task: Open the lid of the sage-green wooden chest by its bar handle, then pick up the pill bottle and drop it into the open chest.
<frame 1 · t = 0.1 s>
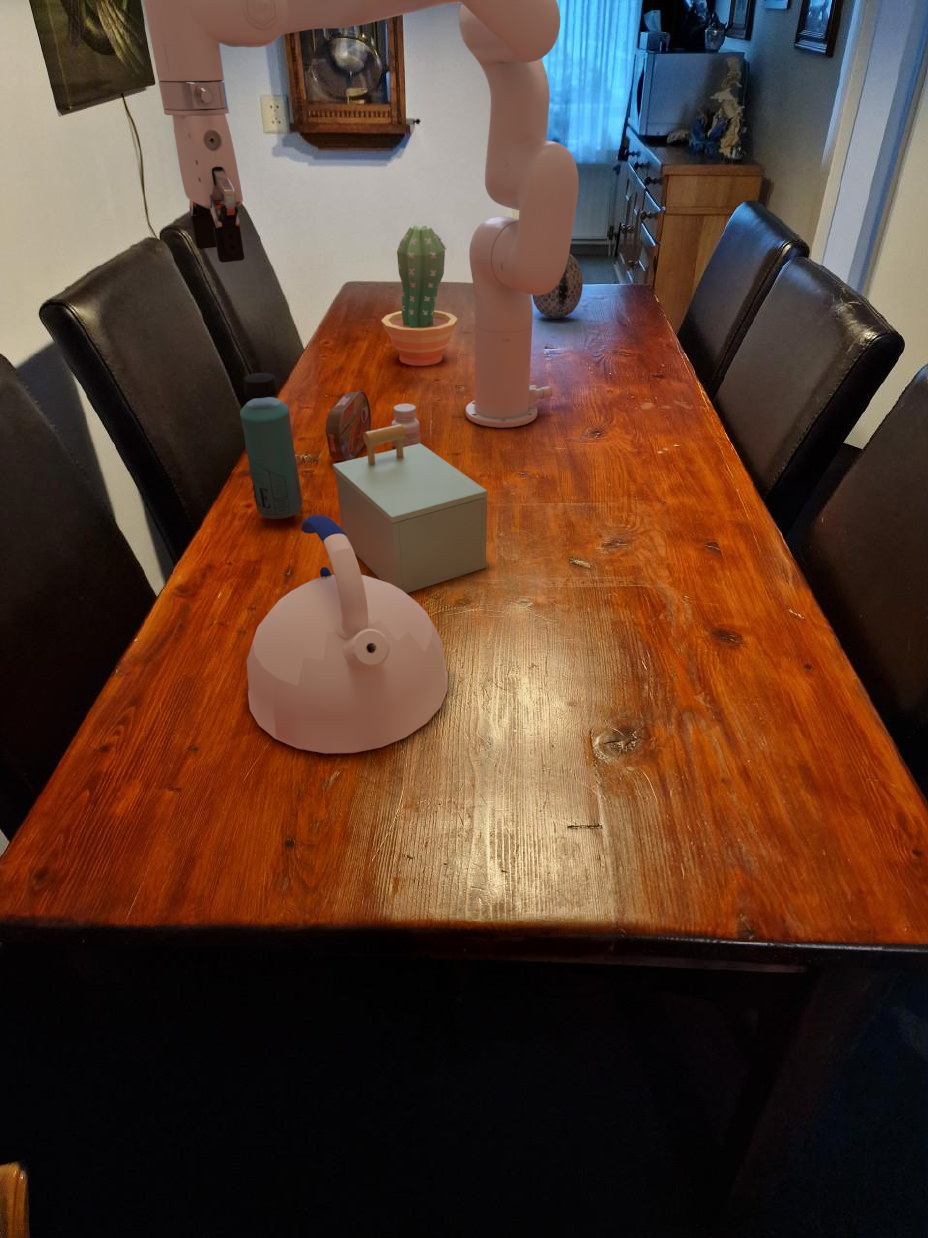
hand: (220, 253, 107), 31 cm above the table, tool pointing down, fingers open, 9 cm apart
potted cactus: (420, 359, 170), on the table
chest: (412, 553, 105), on the table
beverage bottle: (281, 519, 113), on the table
kettle: (349, 688, 83), on the table
tin: (351, 451, 132), on the table
decorative egg: (555, 318, 194), on the table
lid: (406, 463, 98), point 12 cm above the table, hinge at 0.0°
pill bottle: (406, 455, 131), on the table
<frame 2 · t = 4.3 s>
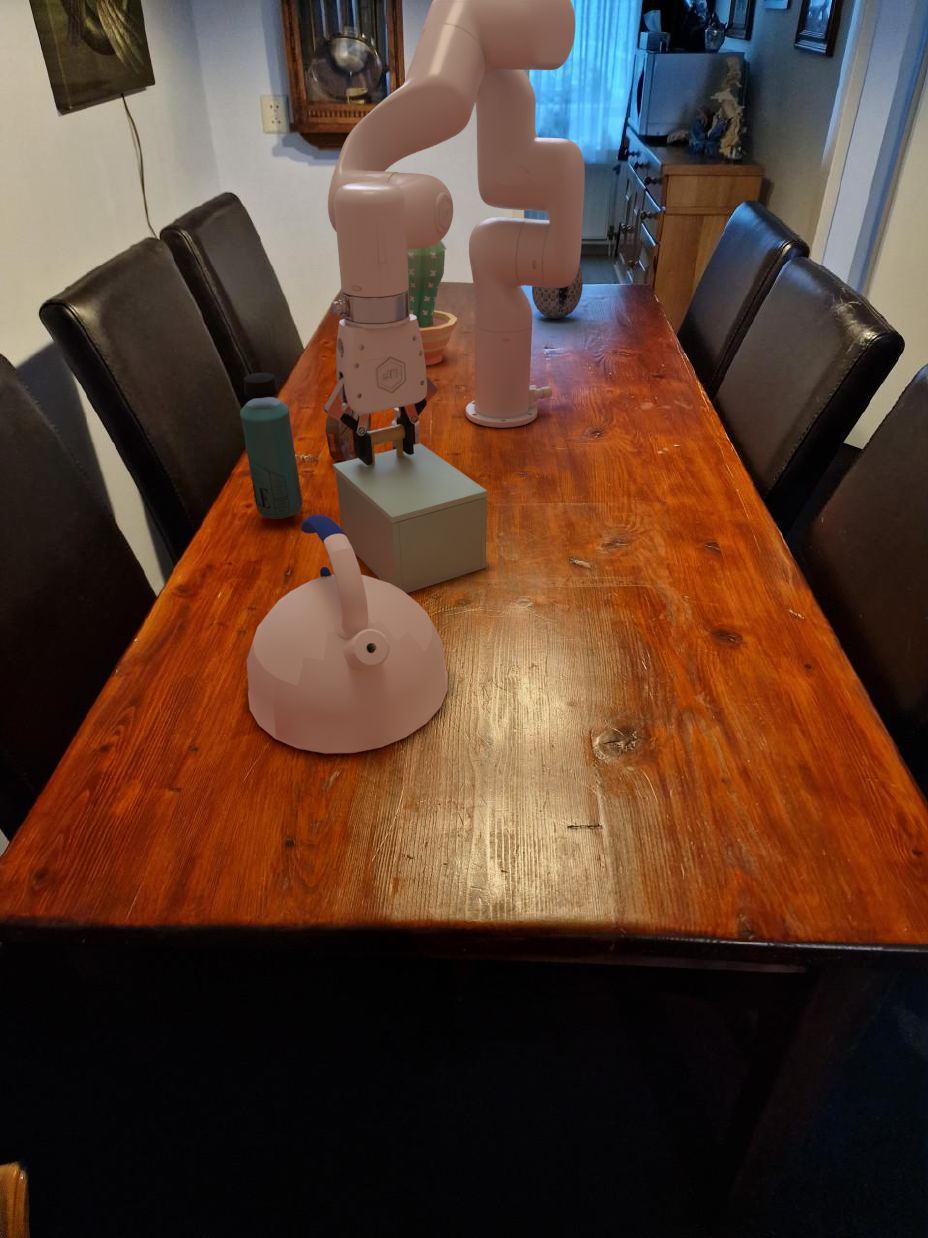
hand: (385, 454, 103), 11 cm above the table, tool pointing down, fingers closed on lid, 5 cm apart
lid: (406, 463, 98), point 12 cm above the table, hinge at 0.0°, touching gripper
everything else where it was.
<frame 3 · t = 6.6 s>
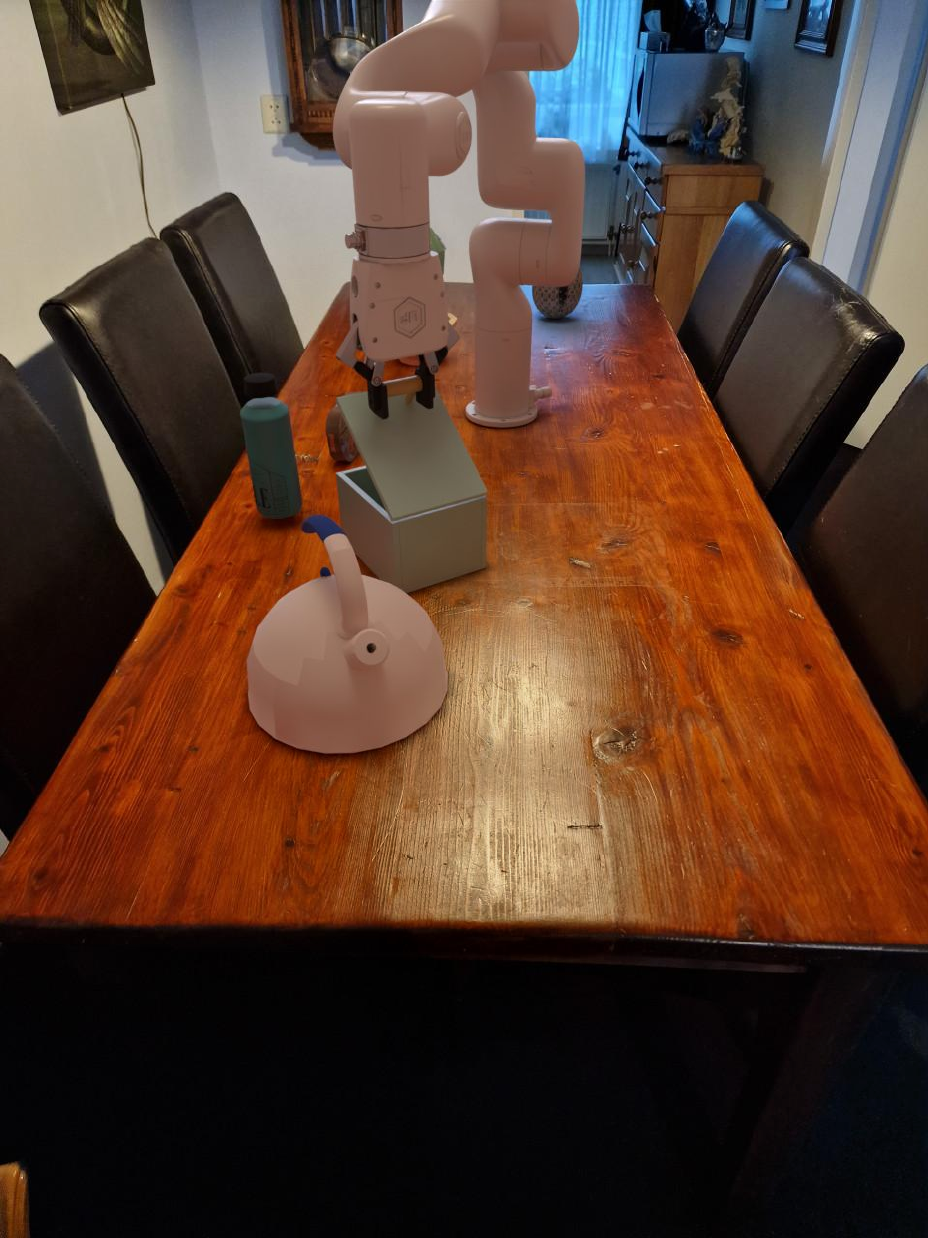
hand: (402, 408, 94), 19 cm above the table, tool pointing down, fingers closed on lid, 5 cm apart
lid: (416, 436, 93), point 17 cm above the table, hinge at 36.6°, touching gripper
everything else where it was.
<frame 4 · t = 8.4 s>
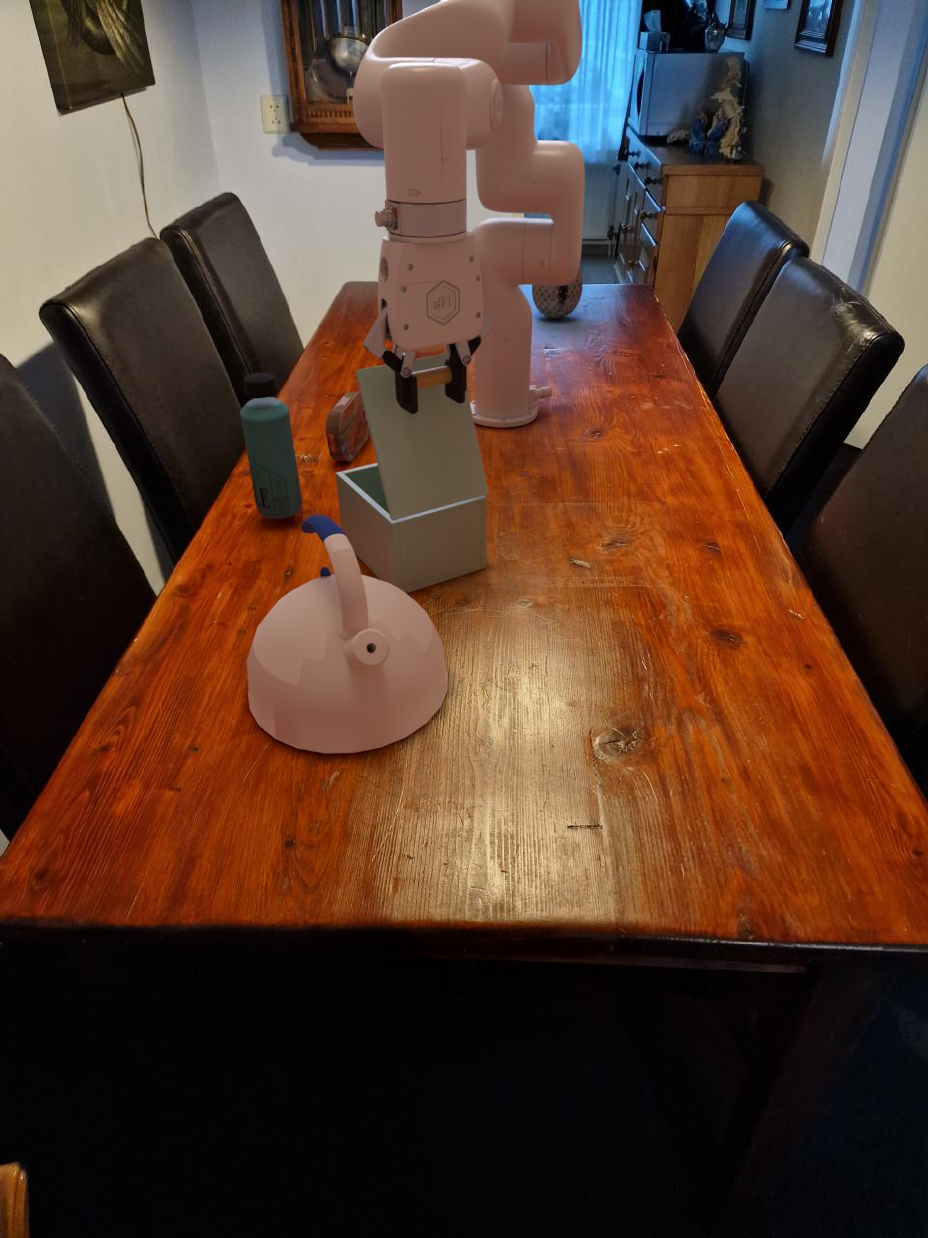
hand: (432, 402, 88), 22 cm above the table, tool pointing down, fingers closed on lid, 5 cm apart
lid: (433, 433, 90), point 19 cm above the table, hinge at 66.2°, touching gripper
everything else where it was.
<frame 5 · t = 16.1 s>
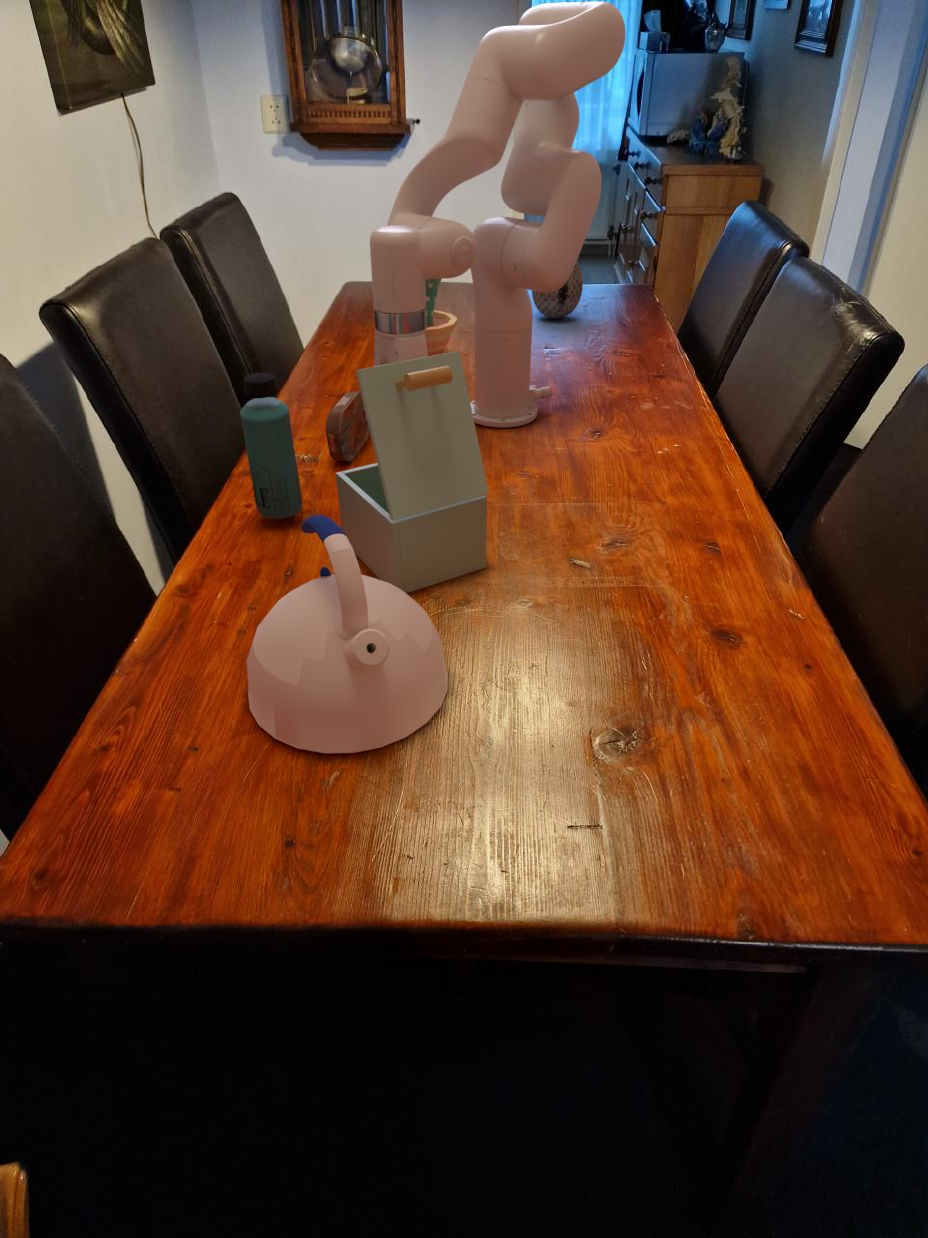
hand: (406, 437, 129), 3 cm above the table, tool pointing down, fingers closed on pill bottle, 4 cm apart
lid: (433, 433, 90), point 19 cm above the table, hinge at 66.6°
pill bottle: (406, 455, 131), on the table, touching gripper
everything else where it was.
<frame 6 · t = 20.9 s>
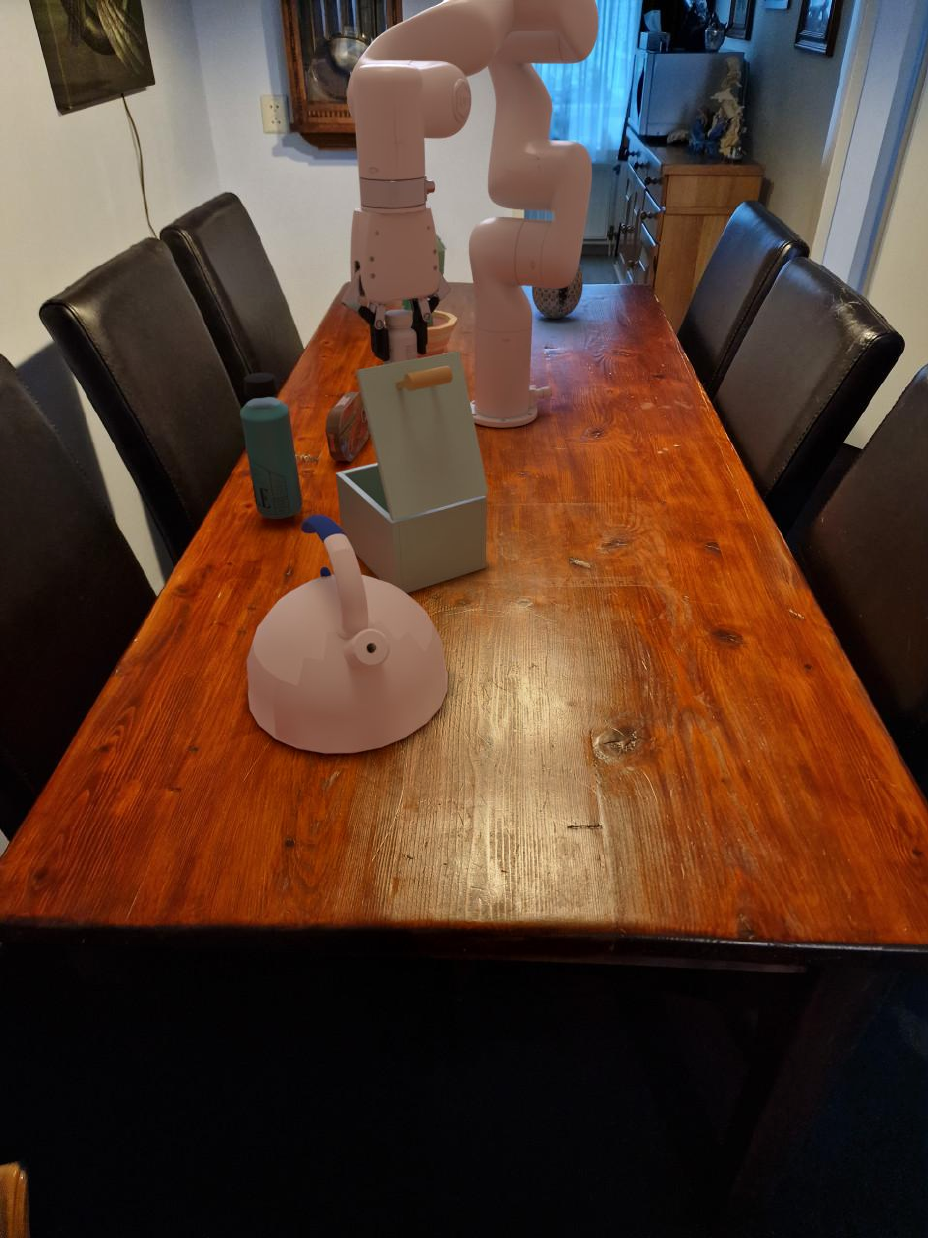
hand: (400, 353, 103), 22 cm above the table, tool pointing down, fingers closed on pill bottle, 4 cm apart
pill bottle: (400, 376, 105), point 19 cm above the table, touching gripper
everything else where it was.
when the fingers open (9 cm above the table, at t = 26.4 s): pill bottle stays where it is, resting on chest.
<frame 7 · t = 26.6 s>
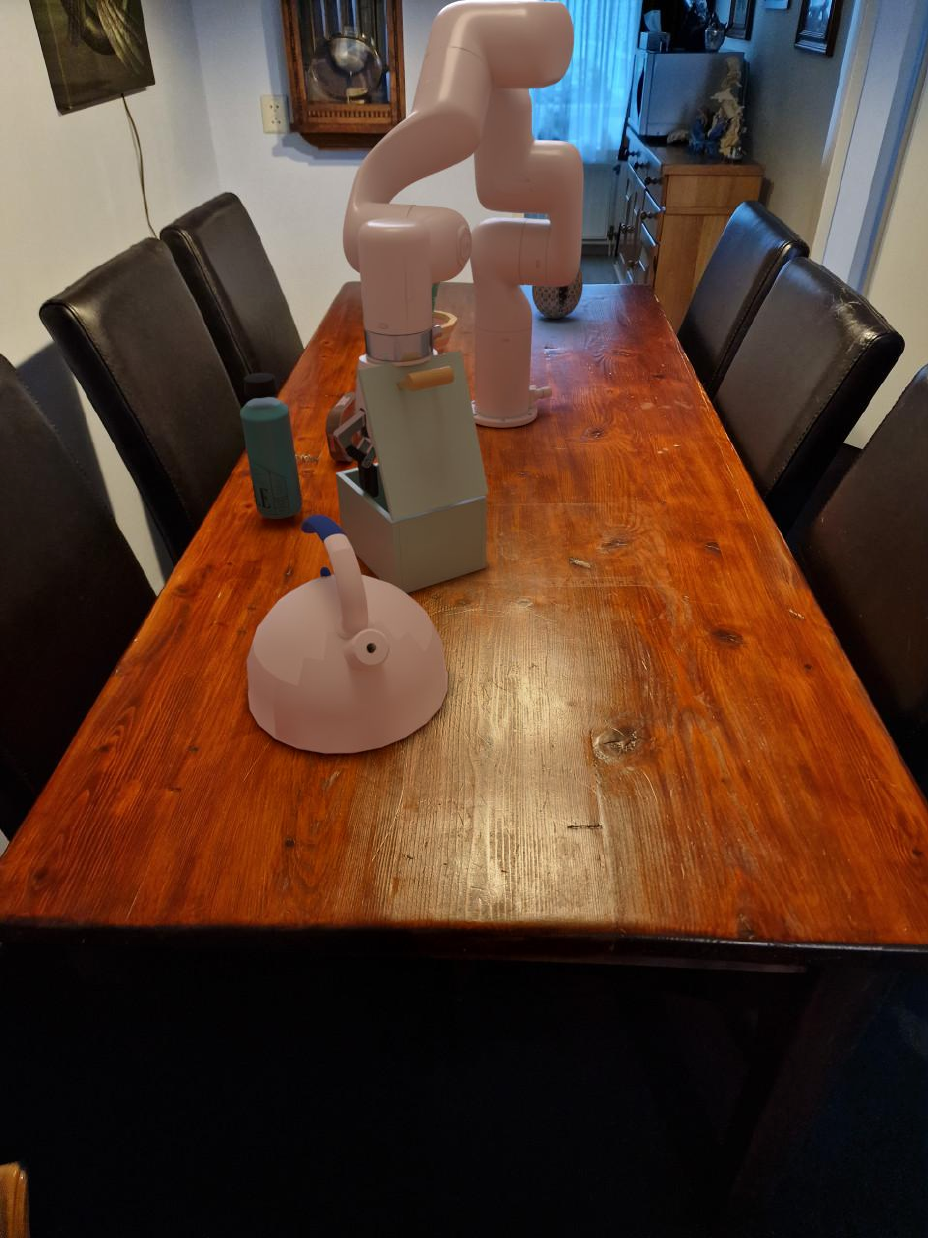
hand: (406, 483, 100), 10 cm above the table, tool pointing down, fingers open, 9 cm apart
lid: (434, 434, 90), point 19 cm above the table, hinge at 67.8°
pill bottle: (409, 541, 103), point 2 cm above the table, touching chest
everything else where it was.
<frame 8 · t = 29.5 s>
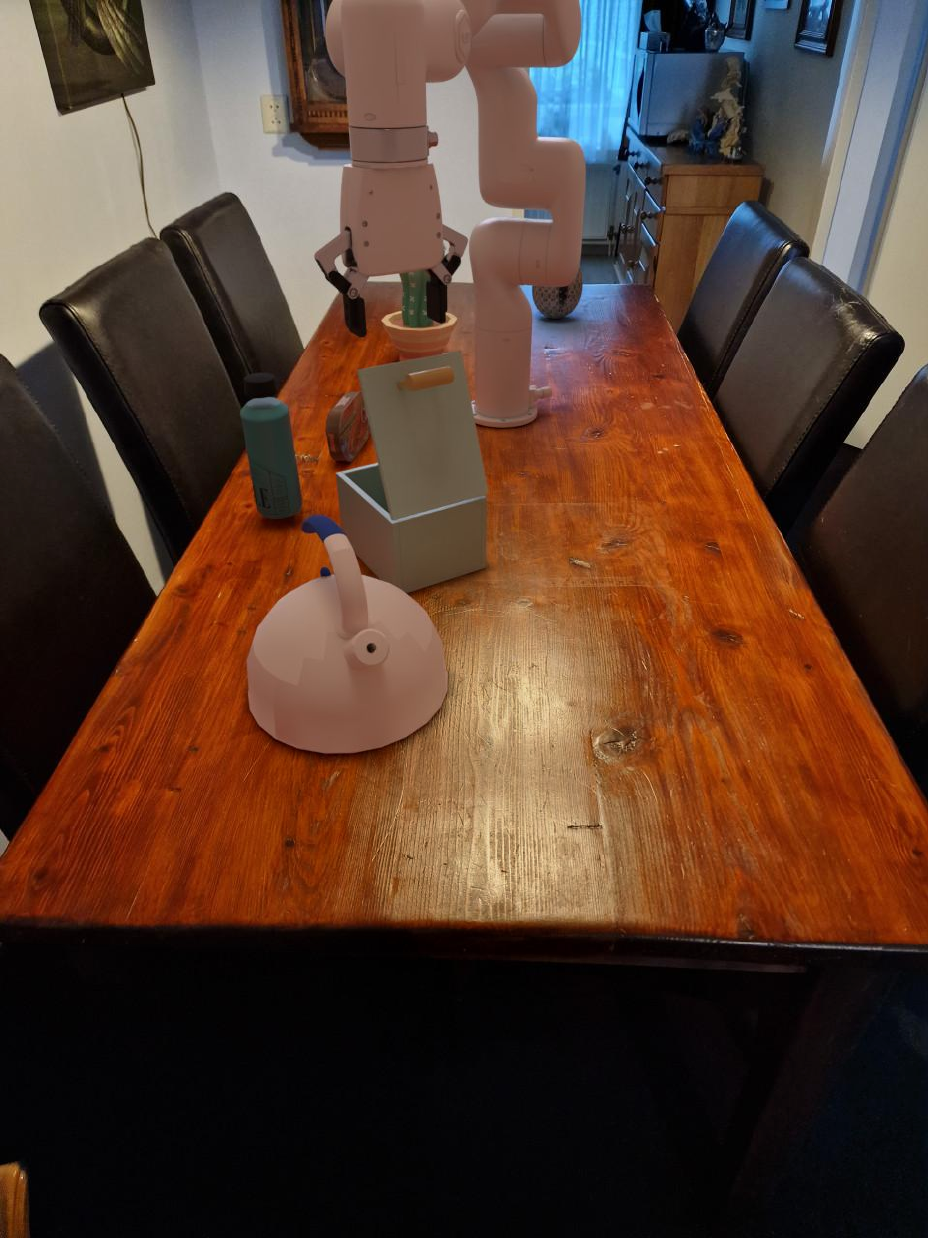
hand: (397, 327, 89), 28 cm above the table, tool pointing down, fingers open, 9 cm apart
nothing on the table moved.
at the end: lid at +68° (first picture: +0°); pill bottle inside the target area in the chest (0.6 cm from its centre), point 2.2 cm above the chest's base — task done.
